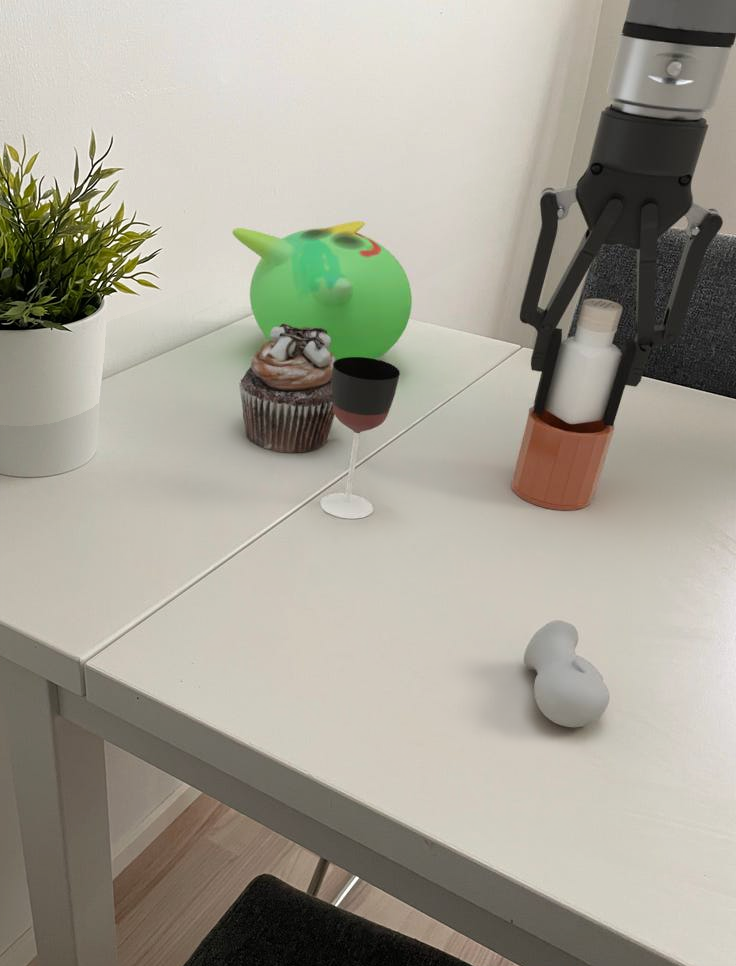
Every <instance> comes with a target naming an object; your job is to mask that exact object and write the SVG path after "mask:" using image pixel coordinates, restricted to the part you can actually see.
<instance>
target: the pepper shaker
mask: <svg viewBox="0 0 736 966" xmlns="http://www.w3.org/2000/svg"><path fill="white" fill-rule="evenodd" d="M623 309H624V307H623V305H621V304H620V303H618V302H616V301H612V300H609V299H604V298H603V299H602V298H587V299H584V300H583V301H582V304H581V308H580V312H579V316H578V320H577V322H576V329H575V333H574V335H573V336H570V337H567V338H564V339H562V340H561V344H560V348H559V352H558V356H557V360H556V364H555V367H554V371H553V375H552V379H551V383H550V387H549V391H548V394H547V398H546V402H545V406H544V408H545V410H547V411H548V412H550V413H552V414H553V415H555V416H557V417H558V418H560V419H561V420H563V421H565V422H566V423H569V424H579V423H586V422H593V421H600V420H601V419H603V417H604V416H605V413H606V409H607V406H608V403H609V399H610V396H611V392H612V389H613V386H614V382H615V379H616V375H617V372H618V369H619V365H620V362H621V359H622V353H621V350H622V349H620V348H619V347H617V345H615V344H614V343H613V342H614V338H615V334H616V333H617V332H618V326H619V323H620V319H621V316H622V312H623Z"/></svg>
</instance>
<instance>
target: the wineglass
mask: <svg viewBox="0 0 736 966" xmlns="http://www.w3.org/2000/svg"><path fill="white" fill-rule="evenodd" d="M400 375H401V371H400V369H399V368H398V367H397V366H395V365H393V364H392V363H389V362H387V361H384V360H380V359H378V358H377V359H371V358H364V357H347V358H341V359H338V360H336V361H335V362H334V363H333V372H332V402H333V410H334V414H335V415H334V417H335V418H336V419H337V420H338V421H339V422H340V423H341V424H342V425H343V426H345V427H347V428H349V430H351V431H353V438H352V440H353V441H352V445H351V453H350V460H349V467H348V474H347V480H346V488H345V493H343V492H342V493H341V492H340V493H339V492H338V493H337V492H335V493H330V494H327V495H325V496H323V497H322V498H321V499H320V502H319V505H320V508H321V509H322V510H323V511H324V512H325V513H327V514H329V515H331V516H334V517H337V518H341V519H347V520H348V519H350V520H352V519H353V520H354V519H356V520H357V519H361V518H366V517H368V516H369V515H371V514H372V513H373V512H374V511H373V510H374V506H373V505H372V503H371V502H370V501H368V499H366V498H364V497H362V496H359V495H356V494H352V490H353V482H354V476H355V469H356V463H357V455H358V449H359V443H360V442H359V441H360V437H361V436H360V435H361V433H362V432H365V431H371V430H373V429H375V428H378V427H379V426H381V425H382V424H383V423H384V422H385V421H386V419H387V417H388V415H389V412H390V410H391V408H392V405H393V402H394V399H395V395H396V391H397V387H398V384H399V379H400Z"/></svg>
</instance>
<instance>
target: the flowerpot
mask: <svg viewBox="0 0 736 966" xmlns="http://www.w3.org/2000/svg"><path fill="white" fill-rule="evenodd" d="M533 412H534V405H532V406H531V407H529V409H528V411H527V415H526V420H525V423H524V428H523V433H522V436H521V440H520V445H519V449H518V453H517V455H516V456H517V457H516V460H515V465H514V468H513V472H512V478H511V481H510V487H511V489H512V491H513V493H515V494H516V495H517V496H518V497H519V498H521V499H522V500H524V501H526V502H528V503H530V504H533V505H535V506H538V507H542V508H545V509H550V510H556V511H577V510H580V509H584V508H587V507H588V506H589V505H590V504H591V503H592V501H593V498H594V497H595V494H596V491H597V487H598V484H599V481H600V477H601V474H602V471H603V467H604V464H605V461H606V458H607V454H608V452H609V449H610V445H611V442H612V438H613V435H614V431H615V423H614V424H613V426H609V425H604V420H603V419H601V420H600V421H593V422H586V423H579V424H569V423H566V422H565V421H563V420H561V419H560V418H558V417H557V416H555V415H553V414H552V413H550V412H548V411H547V410H545V408H544V410H543V414H537V413H533Z"/></svg>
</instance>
